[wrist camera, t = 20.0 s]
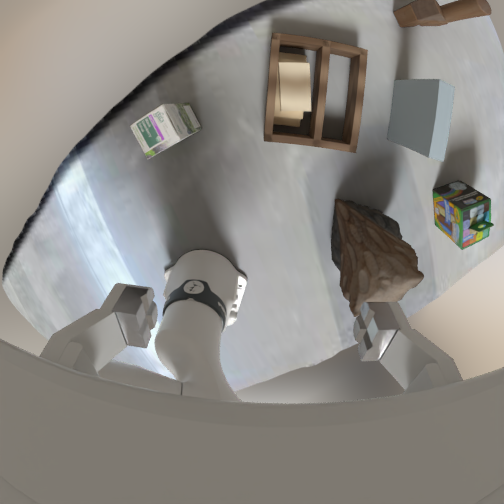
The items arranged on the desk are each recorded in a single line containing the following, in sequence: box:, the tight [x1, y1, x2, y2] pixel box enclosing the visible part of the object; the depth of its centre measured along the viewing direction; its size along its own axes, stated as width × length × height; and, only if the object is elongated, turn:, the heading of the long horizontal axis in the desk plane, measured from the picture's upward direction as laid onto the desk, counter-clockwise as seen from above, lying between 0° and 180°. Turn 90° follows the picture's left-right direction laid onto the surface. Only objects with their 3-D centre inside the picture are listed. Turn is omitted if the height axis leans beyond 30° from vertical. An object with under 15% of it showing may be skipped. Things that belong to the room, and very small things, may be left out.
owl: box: [331, 199, 424, 317], centre depth 45 cm, size 13×13×20 cm
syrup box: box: [130, 103, 202, 159], centre depth 37 cm, size 6×6×14 cm
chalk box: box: [433, 181, 494, 250], centre depth 42 cm, size 9×9×15 cm
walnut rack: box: [264, 33, 368, 153], centre depth 38 cm, size 18×15×5 cm
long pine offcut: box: [273, 52, 307, 127], centre depth 40 cm, size 13×5×2 cm, turn 176°
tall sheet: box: [387, 79, 455, 162], centre depth 34 cm, size 12×3×15 cm, turn 176°
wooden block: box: [394, 0, 491, 27], centre depth 21 cm, size 4×11×18 cm, turn 113°
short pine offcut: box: [278, 62, 311, 111], centre depth 36 cm, size 8×5×2 cm, turn 3°
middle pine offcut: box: [274, 58, 308, 119], centre depth 38 cm, size 10×5×2 cm, turn 177°
